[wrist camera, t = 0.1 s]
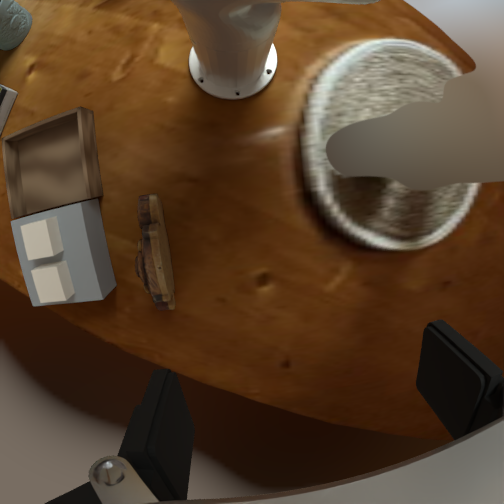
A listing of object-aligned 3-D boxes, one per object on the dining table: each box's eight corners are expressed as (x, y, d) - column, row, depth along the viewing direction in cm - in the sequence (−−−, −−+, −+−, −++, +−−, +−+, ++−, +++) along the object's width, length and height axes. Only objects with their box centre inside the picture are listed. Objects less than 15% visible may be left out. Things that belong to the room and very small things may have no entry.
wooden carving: (136, 196, 44) (111, 203, 35) (165, 189, 44) (146, 195, 35) (162, 299, 48) (146, 329, 39) (189, 295, 48) (179, 325, 39)
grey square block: (31, 215, 44) (10, 221, 38) (98, 198, 44) (80, 202, 38) (50, 293, 47) (33, 306, 41) (116, 285, 47) (103, 299, 42)
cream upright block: (41, 264, 40) (30, 270, 37) (66, 260, 40) (56, 266, 37) (50, 295, 41) (40, 302, 38) (75, 292, 41) (66, 300, 38)
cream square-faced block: (31, 222, 38) (20, 226, 35) (56, 216, 38) (45, 219, 35) (38, 254, 40) (28, 260, 37) (63, 250, 40) (53, 255, 37)
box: (17, 139, 40) (1, 138, 36) (93, 111, 40) (80, 106, 36) (26, 214, 44) (11, 219, 39) (103, 195, 44) (90, 198, 39)
